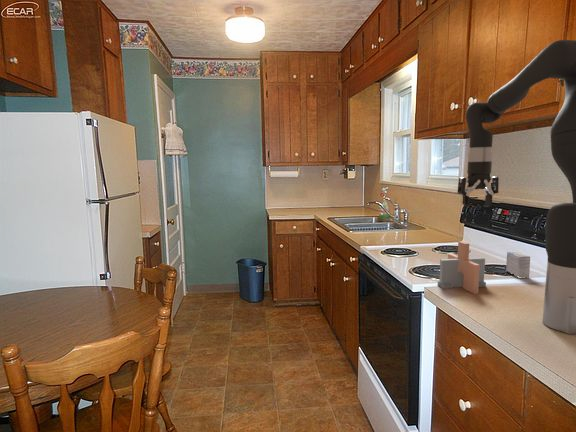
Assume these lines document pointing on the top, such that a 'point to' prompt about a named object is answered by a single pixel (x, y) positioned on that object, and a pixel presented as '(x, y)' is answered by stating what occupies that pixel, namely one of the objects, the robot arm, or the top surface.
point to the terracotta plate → (467, 268)
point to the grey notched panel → (457, 273)
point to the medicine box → (518, 264)
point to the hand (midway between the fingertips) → (477, 205)
